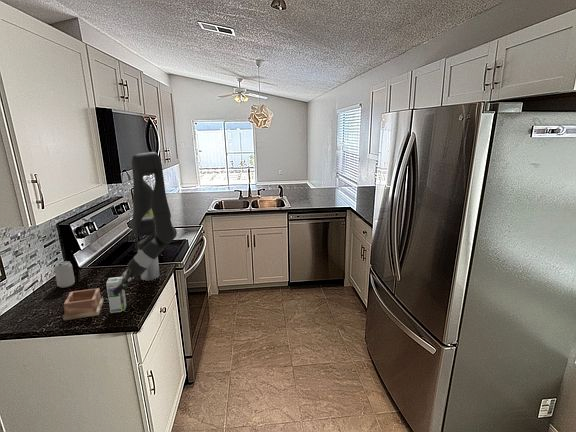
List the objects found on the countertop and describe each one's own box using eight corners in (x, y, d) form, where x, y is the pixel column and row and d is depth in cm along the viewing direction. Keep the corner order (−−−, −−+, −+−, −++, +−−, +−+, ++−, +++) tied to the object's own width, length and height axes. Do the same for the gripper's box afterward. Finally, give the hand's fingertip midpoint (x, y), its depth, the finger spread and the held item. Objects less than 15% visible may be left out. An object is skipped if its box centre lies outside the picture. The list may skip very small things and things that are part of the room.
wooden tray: (71, 305, 151) (69, 291, 149) (103, 300, 155) (101, 286, 154) (63, 320, 139) (60, 305, 138) (98, 315, 144) (96, 300, 142)
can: (56, 284, 171) (52, 262, 167) (73, 280, 175) (70, 259, 172) (58, 289, 165) (54, 267, 162) (76, 285, 170) (72, 263, 167)
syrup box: (110, 313, 145) (105, 283, 141) (112, 306, 150) (108, 277, 146) (124, 311, 146) (120, 281, 143) (126, 305, 152) (122, 275, 148)
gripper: (135, 251, 151) (110, 277, 151) (132, 262, 138) (105, 292, 138) (149, 260, 154) (125, 286, 154) (148, 272, 141) (121, 301, 141)
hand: (115, 289), depth 146 cm, fingers open, 8 cm apart
